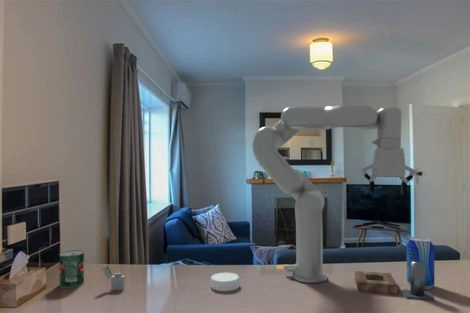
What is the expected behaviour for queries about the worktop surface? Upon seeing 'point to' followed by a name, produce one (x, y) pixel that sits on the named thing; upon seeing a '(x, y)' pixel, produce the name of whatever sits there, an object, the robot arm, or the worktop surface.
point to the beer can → (421, 258)
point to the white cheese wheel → (225, 281)
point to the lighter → (115, 279)
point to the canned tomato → (71, 268)
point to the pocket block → (375, 282)
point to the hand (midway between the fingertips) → (387, 193)
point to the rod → (417, 278)
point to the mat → (411, 296)
